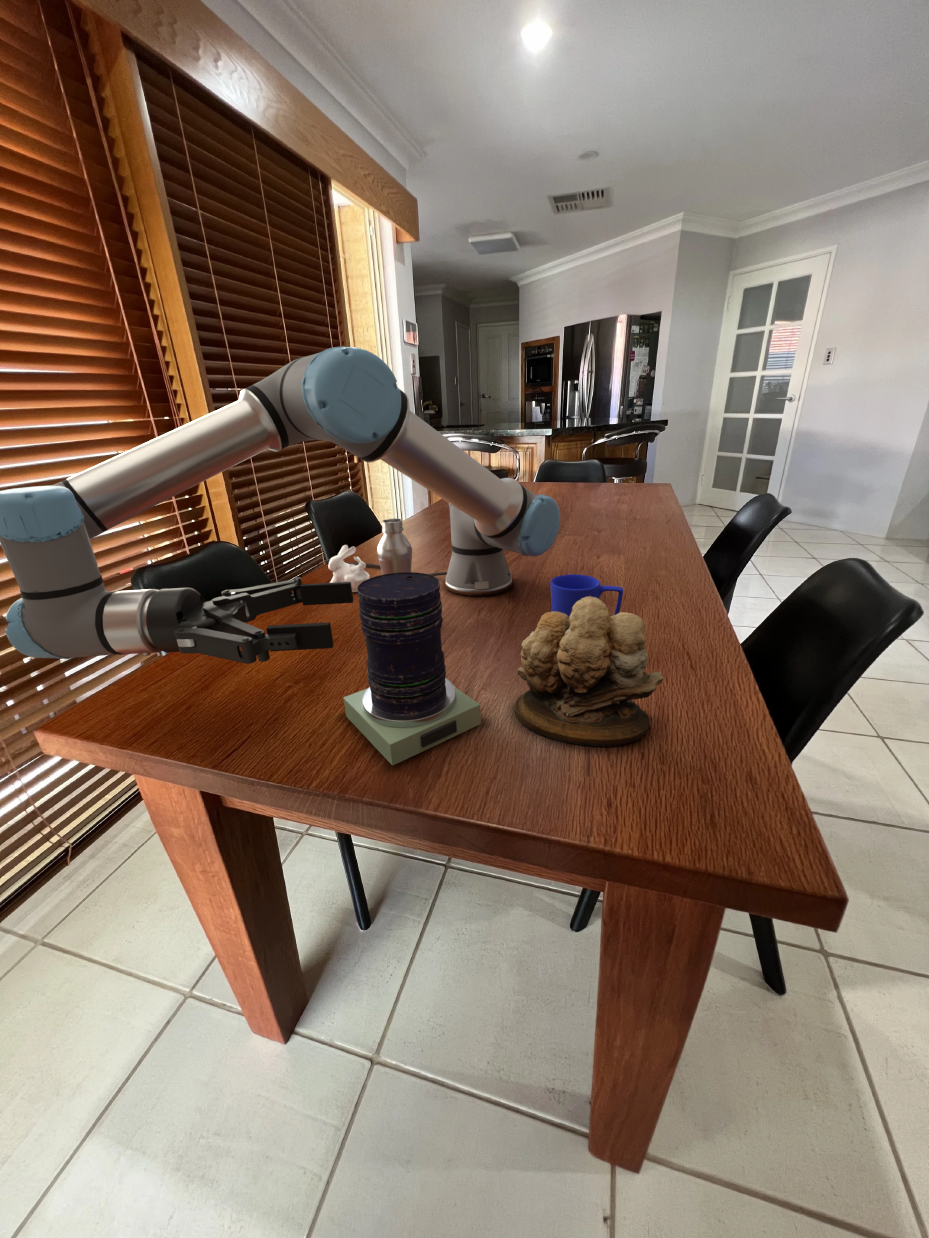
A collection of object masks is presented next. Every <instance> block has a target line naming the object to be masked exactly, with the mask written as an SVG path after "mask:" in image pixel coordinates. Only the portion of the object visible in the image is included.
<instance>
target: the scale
mask: <svg viewBox="0 0 929 1238" xmlns="http://www.w3.org/2000/svg"><path fill="white" fill-rule="evenodd" d="M367 689H368V688H365V689H362V690H359V691H357V692H354V693H352V694H348V695H346V696H344V697H343V698H342V699H343V705H344V712H345V717H346V718H347V719H348V720H349V721H350V722H351V724H352V725H354V726H355V728H356V729H357V730H358V731H359V732H360V733H361V735H363V736H364V737H365V738H366V739H367V741H368V742H370V744H371V745H372V746H373V747H374V748H375V749H376V750H377V751H378V752H379V753H380V755H382V756H383V757H384V758H385V760H386V761H387V762H388V763H389V764H390V765H391V766H395V765H398V764H400V763H402V762H403V761H406V760H408V759H410V758H412V757H414V756H416V755H418V754H421V753H422V752H425V751H427V750H429V749H431V748H433V747H436V746H437V745H440V744H441V743H443V742H446V741H448V740H450V739H452V738H455V737H456V736H458V735H461V734H463V733H464V732H467V731H469V730H471V729H473V728H475V727H478V726H479V725H482V722H481V721H482V720H481V718H482V717H481V703H479V702H477V701H476V700H475V699H473V698H472V697H470V696H468V695H467V694H466V693H464V692H463V691H461V690H460V689H459V688H457V687H455V689H456V703H455V705H454V707H453V709H452V710H451V711H450V712H449V713H448V714H447V715H445V716H444V717H442V718H441V719H439V720H437V721H435V722H432V723H430V724H426V725H423V726H418V727H411V728H395V727H388V726H384V725H380V724H378V723H376V722H374V721H372V720H371V719H370V718H368V716H367V715H366V714H365V712H364V708H363V696H364V694H365V692H366V690H367Z"/></svg>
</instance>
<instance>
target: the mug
mask: <svg viewBox="0 0 929 1238" xmlns="http://www.w3.org/2000/svg"><path fill="white" fill-rule="evenodd" d="M604 592H617V593H618V595H617V600H616V601H617V602H616V605H615V606H616V607H615V610H614V612H613V613H614V614H613V615H616V614H618V613H620V612H621V608H622V601H623V596H624V588H623V587H621V586H615V585H601V581H600V580H598V579H597V578H595V577H593V576H589V575H584V574H562V575H558V576H554V577H552V579H551V580H550V599H551V600H550V601H551V602H550V603H551V612H552V611H555V612H556V611H557V612H561V613H564V614H566V615H567V616H568V617H569V616H570V615H571V612H572V607H573V605H574V604H575V603H576V602H577V601H579V600H581V599H582V598H585V597H589V596H591V597H596V598H598V599H599V600H600V598H601V595H602V594H603V593H604ZM569 619H570V618H569Z"/></svg>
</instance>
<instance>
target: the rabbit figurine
mask: <svg viewBox="0 0 929 1238" xmlns="http://www.w3.org/2000/svg"><path fill="white" fill-rule="evenodd" d="M356 551H357V548H356V546H353V545H352V546H351V547H349V546H348V544H344V545H342V546H341V548H340V550H339V552H338V553H337V555H334V556H332V557H331V558H329V559H330V561H329V563H328V565H327V566H328V570H330V571H331V572H332V575H333V576H332V577H331V580H330V581H329V583H336V582H351V587H352V593H358V591H357V587H358V585H359V584H360V583H362V582H363V581H365V580H367V579H370V578H371V577H370V574H369V572H368V571H366V570H365V569H366V568H367V566H366V564H365V563H366V562H364V561H362V560H361V558H360V557H359V556H353V560H354V561H356V563H359V564H358V565H357V566H356V565H354V564H348V563H349V562H345V561H344V559H346V558H348V557H350V556H352V555H353V554H355V553H356Z"/></svg>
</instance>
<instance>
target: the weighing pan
mask: <svg viewBox="0 0 929 1238" xmlns="http://www.w3.org/2000/svg"><path fill="white" fill-rule="evenodd" d="M445 686H446V696H445V698H444V700H443V701H442V702H441V703H440V704H439V705H438V706H436V707H434V708H433V709H431V710H428V711H426V712H423V713H419V714H414V715H392V714H388V713H385V712H382V711H380V710H378V709H377V708H376V707H375V706H374V705H373V703H372V700H371V690H370V686H369V687H368V688H366V689H367V690H366V692H365V694H364V696H363V708H364V712H365V714H366V715H367V716H368V718H370V719H371V720H372V721H374V722H376V723H378V724H380V725H384V726H388V727H395V728H411V727H418V726H423V725H426V724H430V723H432V722H435V721H437V720H439V719H441V718H442V717H444V716H445V715H447V714H448V713H449V712H450V711H451V710H452V709H453V707H454V705H455V703H456V689H455V688H456V686H455V685H454V683H453V682H452V681H451V680H450V679H448V678H447V677H445Z"/></svg>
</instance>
